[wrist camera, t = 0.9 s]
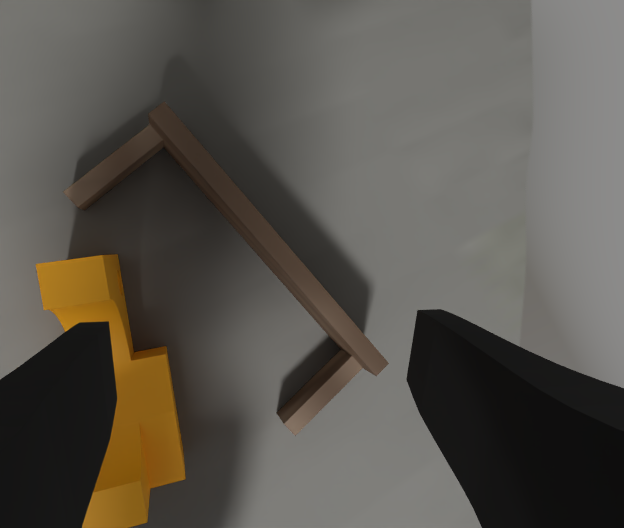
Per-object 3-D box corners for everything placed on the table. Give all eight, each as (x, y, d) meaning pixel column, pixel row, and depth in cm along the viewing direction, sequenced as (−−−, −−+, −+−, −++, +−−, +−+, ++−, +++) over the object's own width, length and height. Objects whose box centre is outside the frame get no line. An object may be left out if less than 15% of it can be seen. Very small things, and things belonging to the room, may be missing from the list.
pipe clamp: (183, 454, 28) (187, 511, 22) (104, 474, 27) (84, 540, 21) (150, 249, 28) (145, 249, 21) (67, 261, 26) (35, 264, 20)
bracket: (287, 423, 30) (304, 449, 26) (70, 196, 26) (53, 186, 22) (361, 349, 31) (388, 363, 27) (165, 122, 28) (164, 101, 24)
